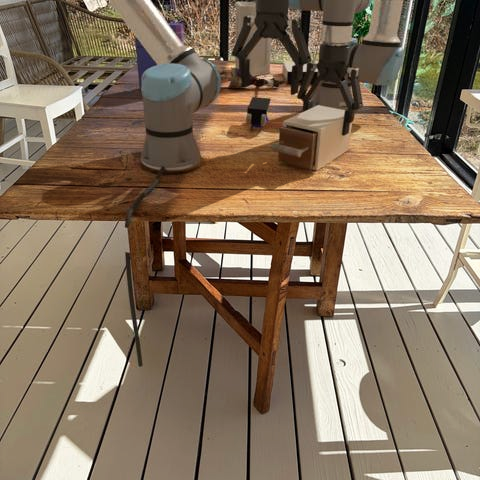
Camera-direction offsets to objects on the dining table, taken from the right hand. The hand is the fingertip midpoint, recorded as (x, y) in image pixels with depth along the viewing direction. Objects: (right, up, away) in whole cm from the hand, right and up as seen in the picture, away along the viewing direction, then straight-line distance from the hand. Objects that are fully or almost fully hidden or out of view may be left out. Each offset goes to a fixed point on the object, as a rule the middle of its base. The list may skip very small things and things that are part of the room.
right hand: (325, 129), depth 130 cm
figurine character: (-18, +6, +20) cm, 28 cm away
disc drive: (+5, +41, +79) cm, 89 cm away
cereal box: (-54, +29, +59) cm, 85 cm away
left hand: (-16, +7, -12) cm, 21 cm away
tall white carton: (-17, +47, +88) cm, 101 cm away
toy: (-46, +44, +83) cm, 105 cm away
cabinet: (-3, -7, 0) cm, 7 cm away
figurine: (-20, +31, +63) cm, 73 cm away
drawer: (-6, -9, -5) cm, 12 cm away
